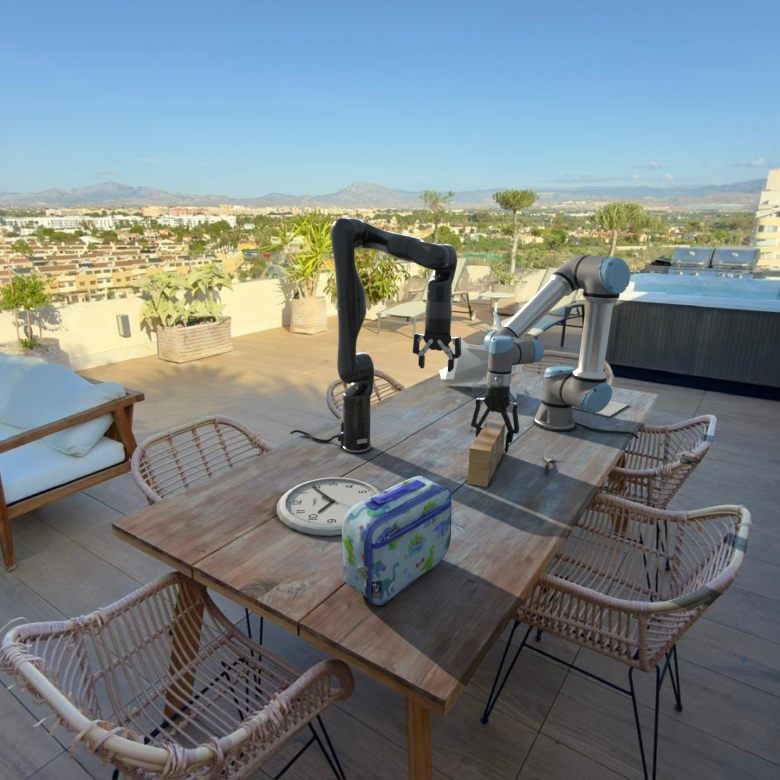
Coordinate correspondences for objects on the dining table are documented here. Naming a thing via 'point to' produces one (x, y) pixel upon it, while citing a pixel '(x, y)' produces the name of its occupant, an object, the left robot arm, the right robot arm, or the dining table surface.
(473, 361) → the white plastic object
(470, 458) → the box
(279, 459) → the dining table surface
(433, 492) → the lunch box
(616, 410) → the invitation card
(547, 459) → the fork
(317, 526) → the wall clock
